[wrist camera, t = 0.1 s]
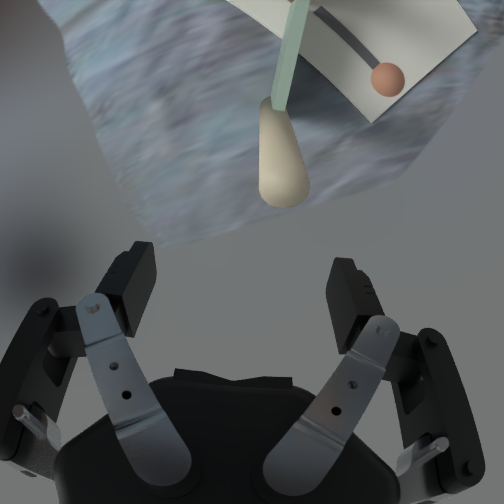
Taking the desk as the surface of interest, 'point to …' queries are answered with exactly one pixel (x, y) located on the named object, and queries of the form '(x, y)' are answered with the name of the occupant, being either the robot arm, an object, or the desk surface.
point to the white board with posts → (371, 42)
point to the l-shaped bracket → (283, 124)
